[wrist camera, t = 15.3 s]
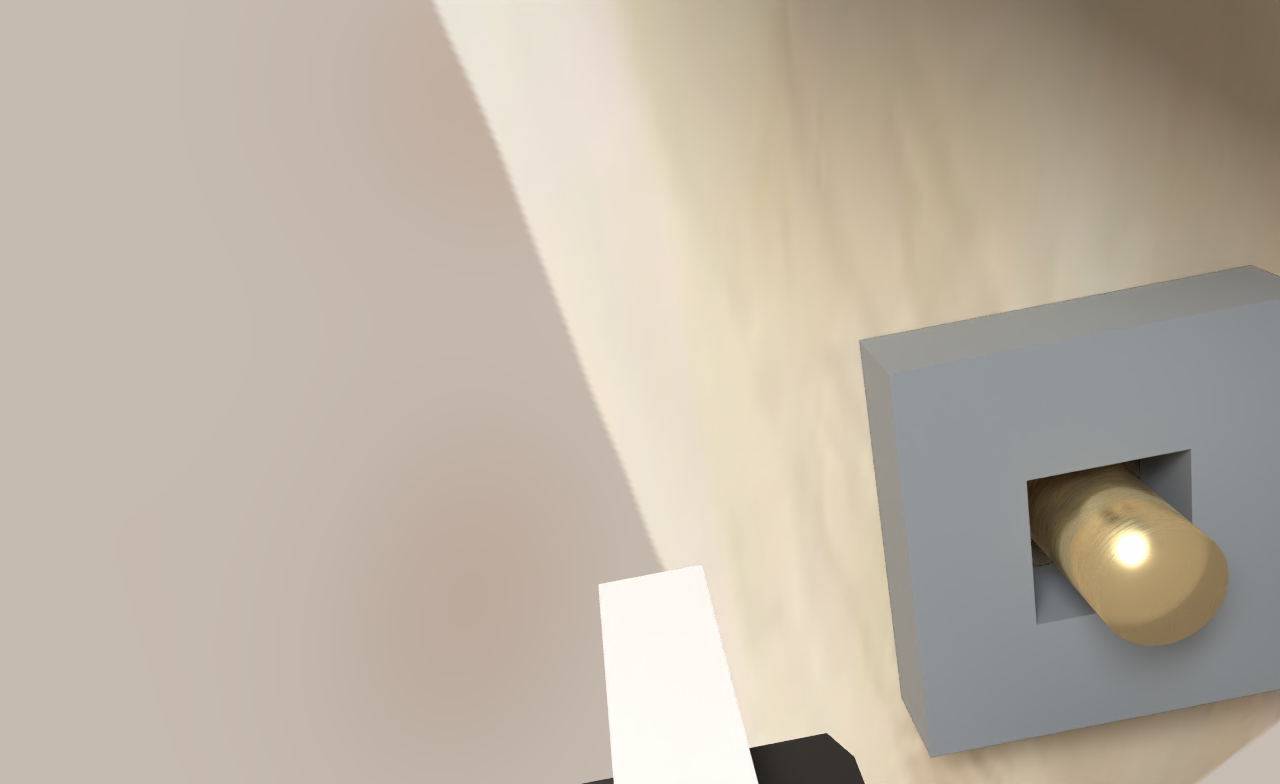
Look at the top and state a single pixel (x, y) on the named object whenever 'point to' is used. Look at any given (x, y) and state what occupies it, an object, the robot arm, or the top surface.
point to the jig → (1061, 443)
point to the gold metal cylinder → (1128, 553)
